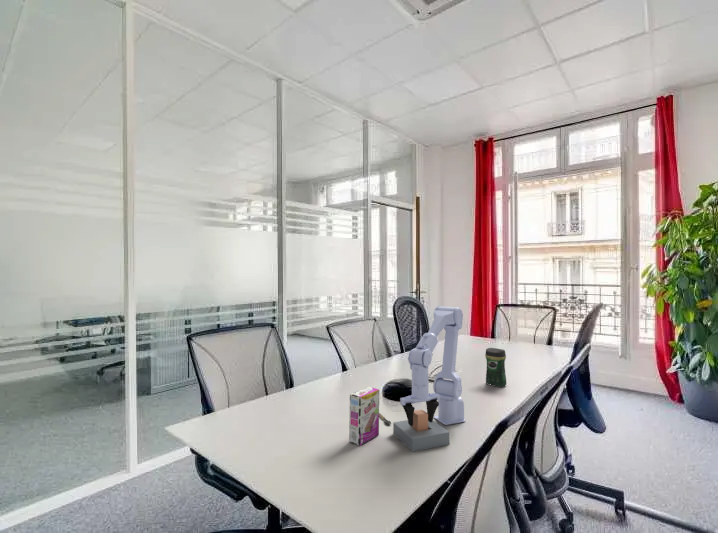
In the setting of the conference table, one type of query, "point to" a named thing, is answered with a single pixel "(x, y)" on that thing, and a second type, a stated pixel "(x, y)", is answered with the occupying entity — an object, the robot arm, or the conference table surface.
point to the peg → (420, 420)
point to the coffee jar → (495, 367)
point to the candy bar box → (364, 416)
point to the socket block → (421, 435)
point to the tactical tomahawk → (384, 419)
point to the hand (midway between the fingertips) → (420, 423)
